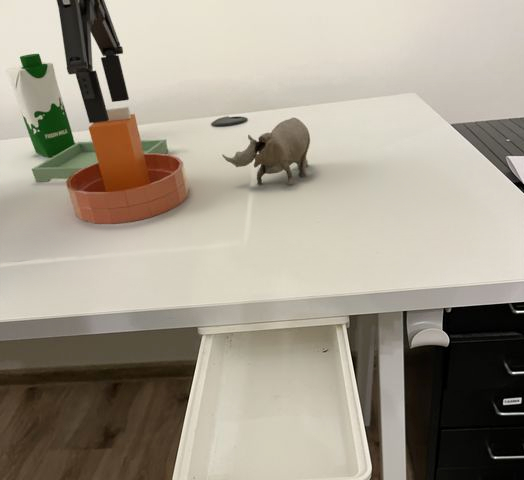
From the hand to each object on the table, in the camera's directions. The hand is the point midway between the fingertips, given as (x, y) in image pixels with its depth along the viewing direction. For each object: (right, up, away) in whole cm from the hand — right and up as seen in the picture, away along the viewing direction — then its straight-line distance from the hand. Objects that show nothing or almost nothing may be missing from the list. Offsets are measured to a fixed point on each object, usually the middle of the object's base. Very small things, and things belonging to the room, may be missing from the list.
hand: (110, 110), depth 85 cm
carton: (+1, -12, +8) cm, 14 cm away
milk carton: (-24, +9, +43) cm, 50 cm away
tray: (-9, +1, +29) cm, 30 cm away
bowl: (+1, -12, +9) cm, 15 cm away
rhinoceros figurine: (+26, -8, +11) cm, 30 cm away
